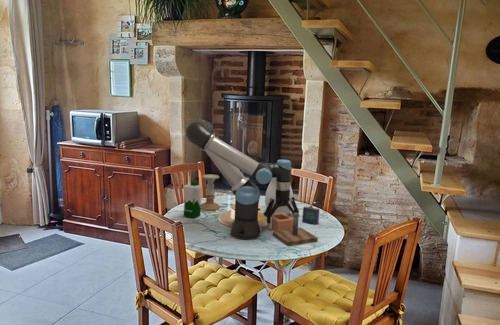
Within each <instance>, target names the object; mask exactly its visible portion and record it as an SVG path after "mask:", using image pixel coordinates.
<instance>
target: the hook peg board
mask: <svg viewBox="0 0 500 325" xmlns="http://www.w3.org/2000/svg"><path fill="white" fill-rule="evenodd" d="M293 216H294V217H293V229H287V230H280V231H275V230H274V231H272V236H273V237H274V238H275V239H277V240H278V241H280V242H281V243H282V244H284V245H285V246H287V247H291V246H297V245H298V246H299V245H305V244H311V243H317V242H318V240H319V237H317V236H316V235H314V234H312V233H310V232H309V231H307V230H306V229H304V228H303V227H299V217H300V213H297V212H295V213H294V214H293Z"/></svg>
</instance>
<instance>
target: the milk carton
mask: <svg viewBox="0 0 500 325" xmlns="http://www.w3.org/2000/svg"><path fill="white" fill-rule="evenodd" d="M182 187H183V191H184V192H183V193H184V196H183V198H184V200H183V204H184V206H183V218H188V219H195V220H196V218H198V217H201V211H202V209H201V204H202V203H201V201H202V199H201V198H202V185H201V184H199V181H198V180H191V181H190V183H188V184H185V185H184V186H182Z"/></svg>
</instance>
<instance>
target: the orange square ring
mask: <svg viewBox="0 0 500 325" xmlns="http://www.w3.org/2000/svg"><path fill="white" fill-rule="evenodd" d="M290 216H291V215H290ZM290 216H289V215H288V214H287V215H286V214H285V213H276V214H273V215H272V216H271V217H272V230H274V231H280V230H287V229H293V218H292V217H290ZM266 226H268V223H267V222H266Z"/></svg>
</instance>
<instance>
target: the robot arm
mask: <svg viewBox="0 0 500 325" xmlns="http://www.w3.org/2000/svg"><path fill="white" fill-rule="evenodd" d="M185 136H186V139H187V141H188V142H189V143H190V144H193V145H194V146H195V147H198V148H199V150H200V151H204V152H205V153H206V154H207V156H208V157H209V158H210V160H211V161H212V162H213V164H214V165H215V166H216V168H218V170H219V172H220V174H222V175H223V177H224V178H225V179H226V181H227V182H228V183H229V185H230V186H231V193H232V194H233V196H234V198H235V200H234V219H233V222H232V225H231V227H230V236H231V237H233V238H235V239H238V240H246V241H247V240H256V239H258V238H260V237H261V226H260V223H259V220H258V219H259V205H260V204H259V203H260V198H261V191H260V189H259V187H258V186H257V185H256V184H255V183H254V182H252V180H251V179H250V177H252V178H253V179H255V180H256V181H257V182H258V183H259V184H260V185H267V184H270V182H271V179H272V178H276V188H277V189H276V198H275V199H272V198H270V203H269V205H268V207H267V208H265V211H264V213H263V216H264V217H266V224H267V223H268V225H267V229H269V230H273V229H272V217H271V216H272V215H273V213H274V212H275V211H276V210H277V208H279V206H280V207H282V206H287V207H288V208H289V210H290V212H291V213H290V217H292V218H293V217H294V216H293V214H294V213H295V212H297V213H298V214H300V210H299V208H298V206H297V203H296V200H295V197H294V196H293V197H292V196H291V197H289V196H290V190H289V189H290V185H291V177H292V161H291V160H289V159H278V160H277V162H275V163H271V162H269V163H268V162H258V161H257V160H254V159H253V158H252V157H250V156H248V155H246V154H245V153H243V152H241V151H240V150H238V149H236V148H235V147H233V146H231V144H228V143H226V142H225V141H223V140H221V139H220V138H219V136H218V134H217V133H216V132H215V130H214V127H213V125H212V123H211V122H210V121H207V120H205V119H198V120H195V121H192V122H190V123H189V124H188V125H187V126H186V128H185ZM242 172H243V173H246V175H249V176H250V177H245V176H244V174H243V173H242ZM289 200H290V201H291V203H292V207H291V206H290V204H289V203H288V202H289ZM275 202H276V203H275ZM274 203H275V204H274ZM273 204H274V206H273Z"/></svg>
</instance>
